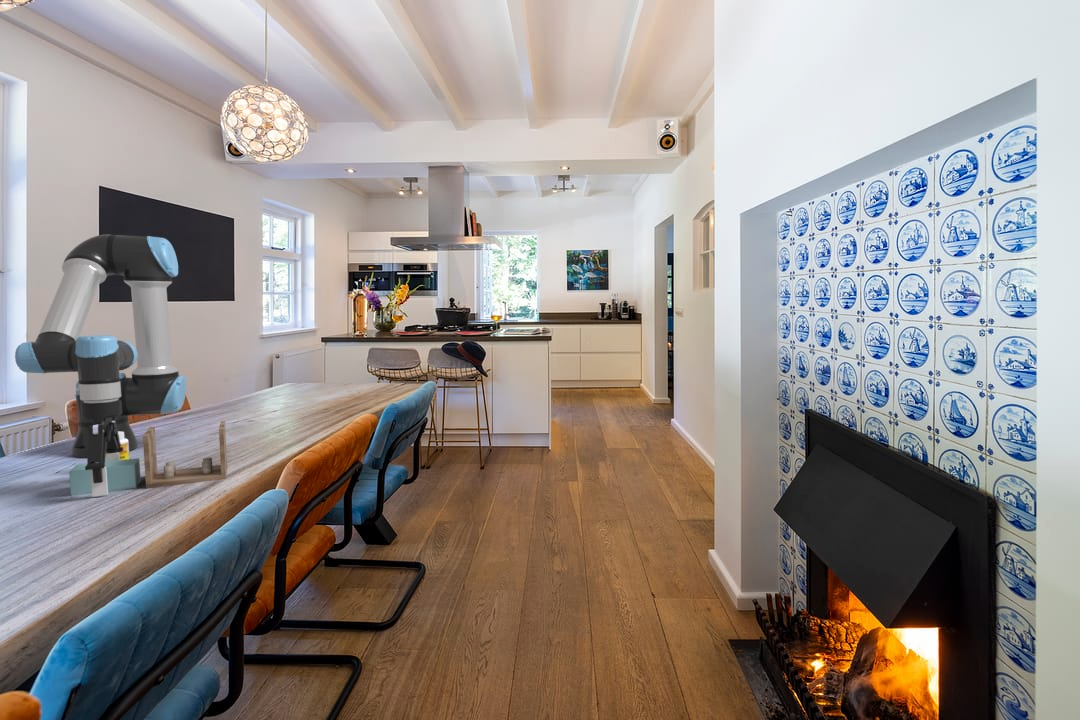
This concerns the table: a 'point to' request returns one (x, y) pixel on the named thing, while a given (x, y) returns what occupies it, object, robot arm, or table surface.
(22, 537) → the table surface
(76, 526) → the table surface
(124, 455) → the supplement bottle
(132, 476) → the shelf board
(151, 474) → the peg bracket
